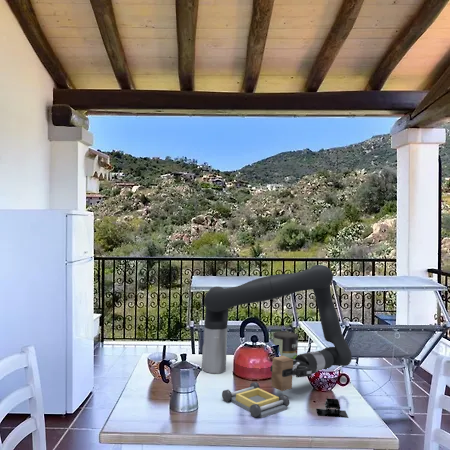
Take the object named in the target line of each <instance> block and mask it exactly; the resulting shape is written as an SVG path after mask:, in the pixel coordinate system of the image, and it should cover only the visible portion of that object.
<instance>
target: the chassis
mask: <svg viewBox="0 0 450 450" xmlns="http://www.w3.org/2000/svg"><path fill="white" fill-rule="evenodd" d="M221 398H222V399H223V401H224V402H225V403H227V402H231V403H232V404H235V405H236V406H238V407H240V408H242V409H243V410H246V411H247V412H249V413H250V415H251V416H252V418H258V417H259V418H260V419H264V418H267V417H269V416H271V414H272V415H275V414H277V413H280V412H283V411H286V410H287V407H289V406H290V399H289V397H288V396H287V395H286V394H282V395H280V396H278V395H275V394H272V393H270V392H268V391H266V390H264V389H262V388H261V387H260V384H259V383H258V381H257V382H256V381H253V382H251V383H250V385H249V387H246V388H243V389H239V390H235V391H231V390H230V389H224V390H222V392H221ZM274 413H275V414H274ZM268 415H269V416H268Z"/></svg>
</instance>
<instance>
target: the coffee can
mask: <svg viewBox="0 0 450 450" xmlns="http://www.w3.org/2000/svg"><path fill="white" fill-rule="evenodd" d="M272 334H273V340H272V341H273V344H275V345H279V351H280V354H281V356H285V357H288V358H291V359H293V360H294V359H295V358H296V356H297V355H298V350H299V349H298V345H299V334H298V333H295V332H293V331H292V332H291V331H281V330H280V331H274V332H273V333H272ZM273 344H272V345H273Z"/></svg>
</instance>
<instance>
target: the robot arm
mask: <svg viewBox="0 0 450 450" xmlns="http://www.w3.org/2000/svg"><path fill="white" fill-rule="evenodd" d="M333 279H334V274H333V272H332V270H331V268H329V267H328V266H326V265H323V264H316V265H313V266H312V267H310V268H307V269H305V270H301V271H298V272H292V273H281V274H272V275H267V276H263V277H259V278H256V279H253V280H250V281H248V282H245V283H242V284H240V285H237V286H233V287H226V288H224V287H222V286H213V287H211V288H210V289H209V290H208V291H207V292H206V293H205V296H204V301H203V303H204V306H205V316H204V317H205V318H204V331H203V332H204V333H203V334H204V335H203V337H204V338H203V344H202V353H201V356H202V357H201V358H202V359H201V368H202V370H203V371H204V372H206V373H208V374H209V373H210V374H221V373H224V372H226V371H227V347H228V343H227V342H228V322H229V321H228V320H229V309H230V308H233V307H236V306H239V305H246V304H255V303H260V302H266V301H270V300H275V299H278V298H282V297H285V296H289V295H292V294H294V293H295V294H296V293H299V292H303V291H309V290H312V291H313V293H314V297H315V299H316V300H315V301H316V304H317V310H318V313H319V314H318V315H319V319H320V323H321V329H322V332H323V337H324V340H325V341H326V342H328V343H331V344H332V345H333V346H329V347H325V348H323V349H321V350H317V351H308V352H303V353H299V354H297V356H296V358H295V359H294V360H293V367H292V368H291V369H286V370H283V371H282V376H283V377H287V376H290V375H291V376H292V377H296V378H304V377H305V378H306V377H311V376H312V374H317V373H319V372H320V371H319V370H322V369H325V370H328V369H330V368H332V367H333V366H337V367H338V366H341V367H342V366H343V367H345V366H346V367H347V366H349V365H350V364H351V362H352V359H353V358H352V357H353V356H352V350H351V348H350V346H349V345H348V343H347V340H346V338H345V337H344V335H343V331H342V328H341V323H340V319H339V315H338V313H337V311H336V307H335V305H334V302H333V297H332V292H331V284H332V283H333ZM327 368H328V369H327ZM318 371H319V372H318ZM322 371H323V370H322ZM270 372H271V373H272V364H271V365H270ZM316 372H317V373H316Z"/></svg>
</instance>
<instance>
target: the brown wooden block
mask: <svg viewBox="0 0 450 450" xmlns="http://www.w3.org/2000/svg"><path fill="white" fill-rule="evenodd" d="M271 365H272V372H271V382H270V383H271V385H270V387H271V388H273V389H276V390H278V391H280V392H283V391H284V392H285V391H288V390H290V389H292V388H293V376H291V375H290V376H287V377H283V376H282V371H283V370H286V369H291V368H292V367H293V359H291V358H288V357H285V356H279V357H274V358H273V357H272V364H271Z"/></svg>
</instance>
